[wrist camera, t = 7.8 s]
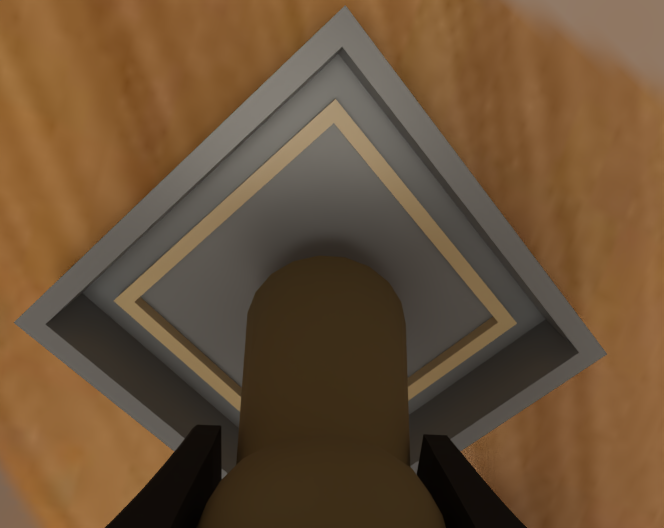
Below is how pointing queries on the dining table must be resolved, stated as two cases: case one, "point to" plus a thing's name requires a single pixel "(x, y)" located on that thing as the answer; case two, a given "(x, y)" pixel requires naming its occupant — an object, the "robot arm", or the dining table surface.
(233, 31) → the dining table surface
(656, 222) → the dining table surface
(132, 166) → the dining table surface
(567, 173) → the dining table surface
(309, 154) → the walled box
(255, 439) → the cork
